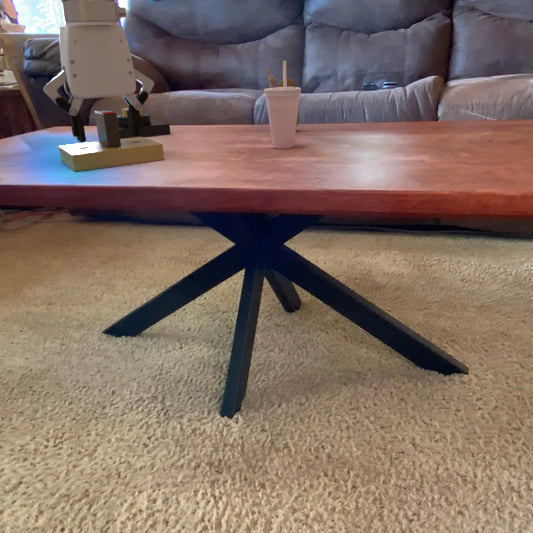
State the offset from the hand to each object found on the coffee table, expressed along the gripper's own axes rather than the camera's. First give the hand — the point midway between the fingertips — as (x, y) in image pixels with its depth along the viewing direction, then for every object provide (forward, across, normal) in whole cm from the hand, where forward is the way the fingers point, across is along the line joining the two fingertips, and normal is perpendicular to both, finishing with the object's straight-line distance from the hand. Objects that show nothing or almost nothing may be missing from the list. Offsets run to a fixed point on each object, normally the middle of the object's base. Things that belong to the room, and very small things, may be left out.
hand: (108, 137), depth 81 cm
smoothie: (+4, -28, +8) cm, 29 cm away
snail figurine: (+4, -38, -7) cm, 39 cm away
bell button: (0, -12, -25) cm, 28 cm away
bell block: (+4, -12, -25) cm, 28 cm away
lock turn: (+1, 0, 0) cm, 1 cm away
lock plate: (+4, 0, 0) cm, 4 cm away
